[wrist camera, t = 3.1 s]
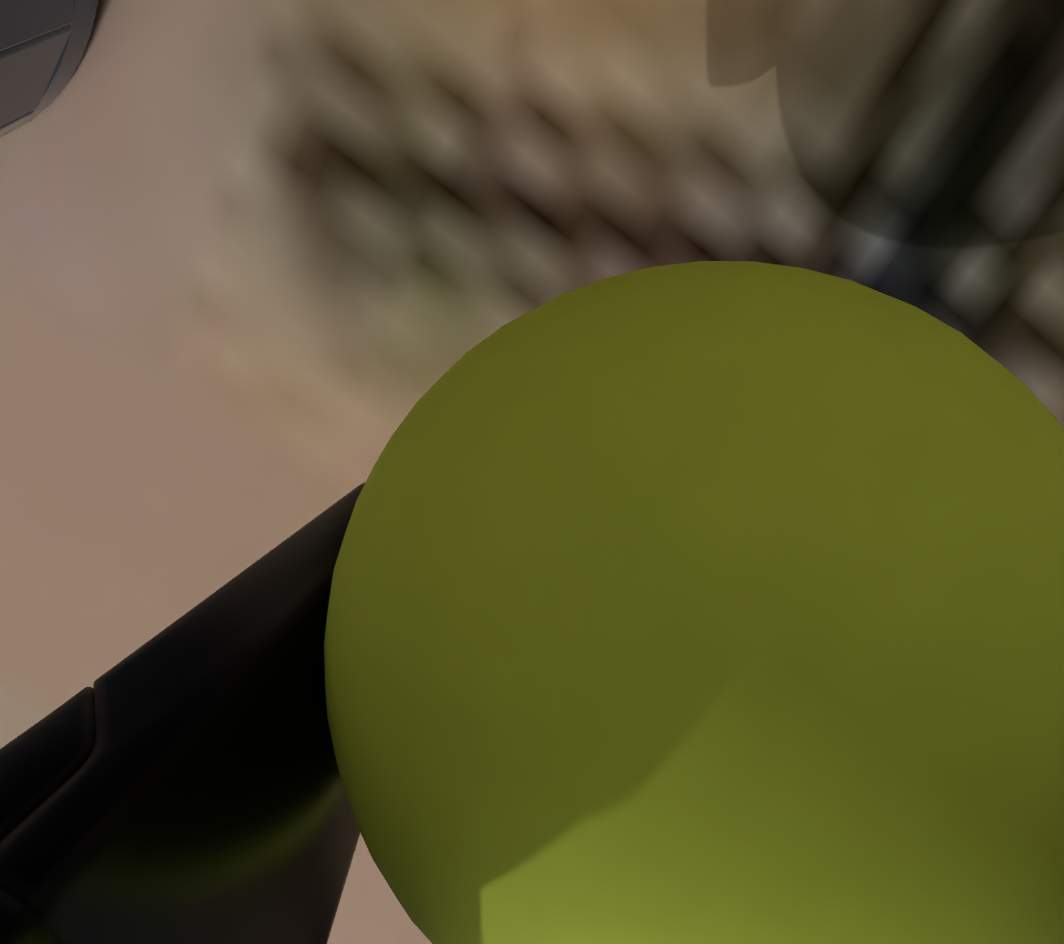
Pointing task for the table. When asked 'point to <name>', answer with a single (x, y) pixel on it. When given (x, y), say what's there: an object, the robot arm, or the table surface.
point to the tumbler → (39, 53)
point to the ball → (711, 627)
